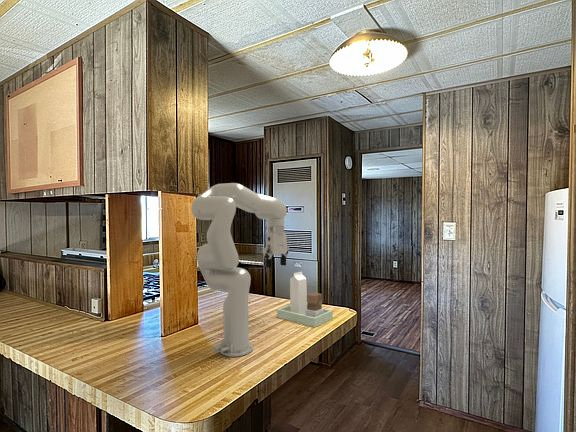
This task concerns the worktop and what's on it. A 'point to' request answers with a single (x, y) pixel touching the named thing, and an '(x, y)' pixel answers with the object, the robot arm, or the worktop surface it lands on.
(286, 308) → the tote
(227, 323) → the robot arm
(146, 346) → the worktop surface
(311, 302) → the walnut block
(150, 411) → the worktop surface
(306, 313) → the white block
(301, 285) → the milk
